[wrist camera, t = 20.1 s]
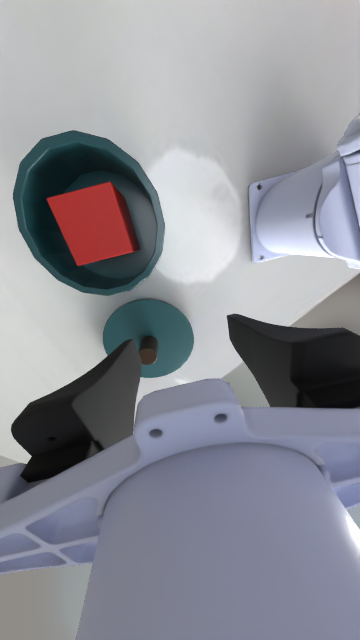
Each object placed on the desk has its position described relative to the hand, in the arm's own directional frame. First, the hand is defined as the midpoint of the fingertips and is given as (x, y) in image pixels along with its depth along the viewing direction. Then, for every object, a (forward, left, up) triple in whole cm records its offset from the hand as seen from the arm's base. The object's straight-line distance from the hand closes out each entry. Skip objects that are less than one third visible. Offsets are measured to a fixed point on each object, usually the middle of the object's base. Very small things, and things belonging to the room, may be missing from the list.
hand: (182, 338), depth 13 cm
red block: (+5, -9, -10) cm, 14 cm away
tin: (+5, -9, -10) cm, 15 cm away
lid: (+5, +5, -10) cm, 12 cm away
